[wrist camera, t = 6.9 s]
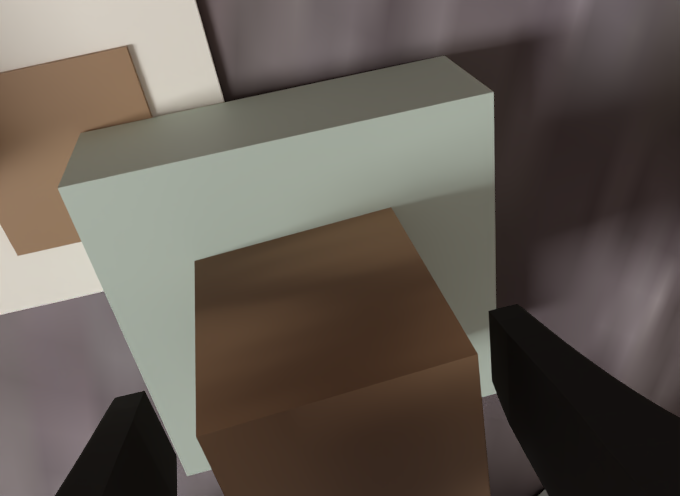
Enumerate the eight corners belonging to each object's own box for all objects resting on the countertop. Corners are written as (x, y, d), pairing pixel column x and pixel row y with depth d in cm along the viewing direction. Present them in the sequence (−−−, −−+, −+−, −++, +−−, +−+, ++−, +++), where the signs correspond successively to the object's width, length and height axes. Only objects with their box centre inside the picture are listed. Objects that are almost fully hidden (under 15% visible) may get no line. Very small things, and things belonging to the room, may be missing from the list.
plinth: (187, 398, 19) (187, 476, 17) (80, 133, 15) (57, 188, 12) (459, 328, 20) (497, 393, 18) (444, 55, 15) (493, 91, 13)
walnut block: (249, 400, 16) (270, 589, 12) (194, 260, 13) (196, 436, 9) (415, 352, 16) (492, 519, 12) (390, 206, 14) (477, 353, 10)
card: (-12, 313, 17) (-17, 321, 17) (-196, 22, 13) (-206, 26, 13) (267, 250, 18) (268, 257, 17) (180, -57, 13) (178, -55, 13)
